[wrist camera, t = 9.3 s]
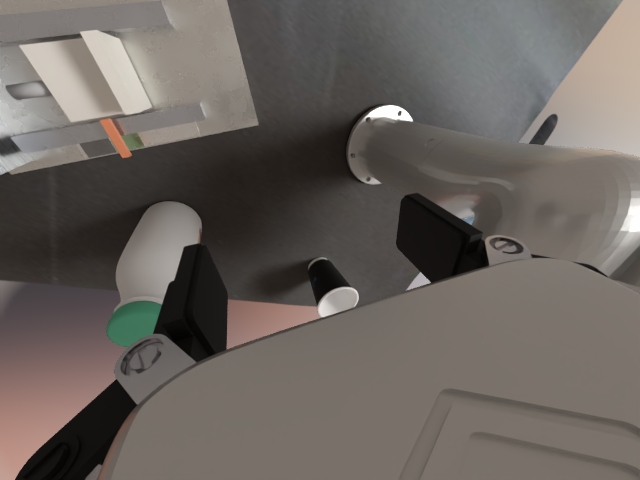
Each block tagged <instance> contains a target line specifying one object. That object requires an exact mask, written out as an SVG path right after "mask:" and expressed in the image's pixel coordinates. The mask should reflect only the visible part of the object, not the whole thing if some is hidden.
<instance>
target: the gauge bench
mask: <svg viewBox="0 0 640 480" xmlns="http://www.w3.org/2000/svg"><path fill="white" fill-rule="evenodd" d="M91 30H98V31H100V32H103V33H106V34H108V35H111V36H113V37H116V38H119V39H120V41H121V43H122V45H123V47H124V49H125V51H126V53H127V55H128V57H129V60H130V62H131V64H132V66H133V68H134V70H135V72H136V74H137V76H138V78H139V80H140V82H141V84H142V87H143V89H144V91H145V93H146V95H147V97H148V99H149V101H150V103H151V105H152V107H151V108H149V109H147V110H144V111H142V112H140V113H134V114H129V115H125V113H123V114H117V115H111V116H106V117H100V118H94V119H88V120H82V121H76V122H71V121H70V120H69V118H68V117H67V115H66V114H65V112H64V111H63V110H62V108H61V107H60V105H59V104H58V102H57V101H56V99H55V98H54V96H53V95H48V96H42V97H35V98H28V99H22V100H16V99H15V98H13V97H12V96H11V95H10V94H9V93H8V91H7V90H6V85H11V84H19V83H26V82H33V81H40V80H42V79H41V77H40V76H39V74H38V73H37V72H36V70H35V69H34V67H33V66H32V64H31V63H30V61H29V60H28V58H27V57H26V55H25V54H24V53H23V51H22V50H21V48H20V47H19V45H27V44H36V43H45V42H54V41H62V40H71V39H80V38H83V37H82V35H81V33H80V32H82V31H91ZM108 118H111V120H112V122H113V124H114V125H115V127H116V129H117V130H118V132H119V134H120V135H121V137H122V139H123V141H124V142H125V144H126V146H127V147H128V149H129V151H131V150H137V149H142V148H147V147H152V146H157V145H162V144H167V143H172V142H177V141H182V140H187V139H192V138H197V137H202V136H207V135H212V134H217V133H222V132H227V131H232V130H237V129H242V128H247V127H252V126H257V125H259V124H258V120H257V116H256V113H255V109H254V105H253V101H252V97H251V93H250V89H249V85H248V81H247V77H246V73H245V70H244V66H243V62H242V58H241V54H240V50H239V46H238V42H237V38H236V34H235V31H234V27H233V23H232V19H231V15H230V11H229V7H228V3H227V0H0V175H1V174H4V173H6V172H8V171H9V172H10V174H16V173H21V172H26V171H31V170H36V169H41V168H46V167H51V166H56V165H61V164H66V163H71V162H76V161H81V160H86V159H91V158H96V157H101V156H106V155H111V154H116V153H119V152H118V150H117V148H116V147H115V145H114V143H113V142H112V140H111V139H110V137H109V135H108V134H107V132H106V130H105V129H104V127H103V126H102V124H101V122H100V121H99V120H102V119H108Z"/></svg>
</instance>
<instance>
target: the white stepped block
mask: <svg viewBox="0 0 640 480" xmlns="http://www.w3.org/2000/svg"><path fill="white" fill-rule="evenodd" d="M80 33H81V35H82V37H83V38H80V39H71V40H62V41H54V42H45V43H36V44H27V45H19V47H20V48H21V50H22V51H23V53H24V54H25V55H26V57H27V58H28V60H29V61H30V63H31V64H32V66H33V67H34V69H35V70H36V72H37V73H38V74H39V76H40V77H41V79H42V80H40V81H33V82H26V83H19V84H11V85H6V90H7V91H8V93H9V94H10V95H11V96H12V97H13V98H15V99H16V100H22V99H28V98H35V97H42V96H48V95H53V96H54V98H55V99H56V101H57V102H58V104H59V105H60V107H61V108H62V110H63V111H64V112H65V114H66V115H67V117H68V118H69V120H70V121H71V122H76V121H82V120H88V119H94V118H100V117H106V116H111V115H117V114H123V113H125V115H129V114H134V113H140V112H142V111H144V110H147V109H149V108H151V107H152V105H151V103H150V101H149V99H148V97H147V95H146V93H145V91H144V89H143V87H142V84H141V82H140V80H139V78H138V76H137V74H136V72H135V70H134V68H133V66H132V64H131V62H130V60H129V57H128V55H127V53H126V51H125V49H124V47H123V45H122V43H121V41H120V39H119V38H116V37H113V36H111V35H108V34H106V33H103V32H100V31H98V30H91V31H82V32H80ZM99 121H100V122H101V124H102V126H103V127H104V129H105V130H106V132H107V134H108V135H109V137H110V139H111V140H112V142H113V143H114V145H115V147H116V148H117V150H118V152H119V153H120V155H121V156H122V158H126V157H131V156H132V154H131V152H130V151H129V149H128V147H127V146H126V144H125V142H124V141H123V139H122V137H121V135H120V134H119V132H118V130H117V129H116V127H115V125H114V124H113V122H112V120H111V118H108V119H102V120H99Z"/></svg>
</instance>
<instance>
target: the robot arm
mask: <svg viewBox="0 0 640 480" xmlns="http://www.w3.org/2000/svg"><path fill="white" fill-rule="evenodd" d="M366 118H367V120H366ZM351 154H352V155H351ZM346 158H347V163H348V166H349V168H350V170H351V172H352V173H353V175H354V176H355V177H357V178H358V179H359V180H361V181H362V182H364V183H367V184H381V183H382V184H384V185H385V186H387V187H388V188H390V189H391V190H393V191H394V192H396V193H397V194H399V195H400V196H402V197H403V199H402V200H401V205H400V214H399V223H398V231H397V240H396V245H397V248H398V249H399V250H400V251H401V252H402V253H403V254H404V255H405V256H406V257H407V258H408V259H409V260H410V261H411V262H412V263H413V264H414V265H415V267H416V268H417V269H418V270H419V271H420V272H421V273H422V274H423V275H424V276H425V277H426V278H427V279H428V280H430V282H431V283H430V284H426V285H423V286H420V287H417V288H413V289H410V290H407V291H404V292H401V293H398V294H394V295H391V296H388V297H385V298H382V299H379V300H375V301H372V302H369V303H366V304H363V305H360V306H357V307H353V308H350V309H347V310H344V311H341V312H338V313H335V314H332V315H328V316H325V317H322V318H319V319H316V320H313V321H310V322H307V323H304V324H301V325H297V326H294V327H291V328H289V329H285V330H282V331H279V332H276V333H273V334H270V335H267V336H264V337H262V338H259V339H255V340H253V341H249V342H247V343H244V344H241V345H238V346H235V347H233V348H230V349H227V350H226V344H227V304H228V295H227V290H226V288H225V285H224V283H223V281H222V279H221V277H220V275H219V272H218V270H217V268H216V266H215V264H214V262H213V260H212V257H211V255H210V253H209V251H208V249H207V247H206V246H205V245H203V246H201V244H200V243H197V244H193V245H188V246H185V247H184V248H183V252H182V255H181V259H180V262H179V266H178V269H177V272H176V276H175V279H174V281H171V282H170V283H169V285H168V287H167V290H166V294H165V297H164V300H163V303H162V306H161V309H160V313H159V316H158V319H157V322H156V325H155V329H154V332H153V334H152V335H148V336H145V337H143V338H141V339H139V340H138V341H136V342H134V343H133V344H132V345H130V346H129V347H128V348H127V349H126V350H125V351H124V352H123V353H122V355H121V356H120V357H119V358H118V360H117V362H116V365H115V369H114V374H115V377H116V380H115V381H114V382H113V383H112V384H111V385H109V386H108V387H107V388H106V389H105V390H104V391H103V392H102V393H101V394H100V395H98V396H97V397H96V398H95V399H94V400H93V401H92V402H91V403H89V404H88V405H87V406H86V407H85V408H84V409H83V410H82V411H81V412H80V413H78V414H77V415H76V416H75V417H74V418H73V419H72V420H71V421H69V423H67V424H66V425H65V426H64V427H63V428H62V429H61V430H59V431H58V432H57V433H56V434H55V435H54V436H53V437H52V438H50V439H49V440H48V441H47V442H46V443H45V444H44V445H43V446H42V447H41V448H39V449H38V451H36V453H35V454H34V455H33V456H32V457H31V458H30V459H29V460H28V461H27V462H26V464H25V465H24V466H23V468H22V469H21V470H20V472H19V474H18V475H17V477H16V479H15V480H640V158H639V157H636V156H633V155H629V154H624V153H620V152H616V151H611V150H603V149H594V148H581V147H564V146H547V145H534V144H524V143H515V142H508V141H502V140H497V139H491V138H485V137H481V136H476V135H472V134H467V133H461V132H457V131H453V130H448V129H444V128H439V127H435V126H431V125H426V124H422V123H417V122H413V120H412V118H411V116H410V115H409V114H408V112H406V111H405V110H404V109H403V108H401V107H399V106H395V105H386V104H384V105H380V106H376V107H374V108H372V109H370V110H369V111H367V112H366V113H365V114H364V115H363V116H362V117H361V118H360V119H359V120H358V121H357V122H356V124H355V125H354V127H353V129H352V131H351V133H350V135H349V139H348V142H347V148H346ZM472 216H474V221H473V223H472V225H470V224H468V223H467V222H465V221H463V220H462V218H468V217H472Z"/></svg>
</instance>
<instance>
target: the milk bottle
mask: <svg viewBox="0 0 640 480" xmlns="http://www.w3.org/2000/svg"><path fill="white" fill-rule="evenodd" d="M201 232H202V223H201V219H200V217H199V216H198V214H197V213H196V212H195V211H194V210H193V209H192V208H190V207H189V206H187V205H185V204H183V203H179V202H174V201H164V202H159V203H156V204H154V205H152V206H151V207H149V208H148V209H147V210H146V212H145V213H144V215H143V216H142V218H141V220H140V221H139V223H138V225H137V227H136V228H135V230H134V232H133V234H132V236H131V237H130V239H129V241H128V243H127V245H126V247H125V249H124V251H123V253H122V255H121V257H120V259H119V262H118V265H117V269H116V284H117V287H118V290H119V293H120V299H121V302H120V304H119V305H117V306H116V308H115V309H114V312H113V314H112V316H111V318H110V320H109V322H108V325H107V330H106V332H107V336H108V338H109V339H110V340H111V341H112V342H114V343H116V344H118V345H120V346H124V347H129V346H130V345H132V344H133V343H134V342H136V341H138V340H139V339H141V338H143V337H145V336H148V335H152V334H153V332H154V329H155V325H156V322H157V319H158V316H159V313H160V309H161V306H162V303H163V300H164V297H165V294H166V290H167V287H168V285H169V283H170V282H171V281H174V279H175V276H176V272H177V269H178V266H179V262H180V259H181V255H182V252H183V248H184V247H185V246H188V245H193V244H197V243H200V240H201Z"/></svg>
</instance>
